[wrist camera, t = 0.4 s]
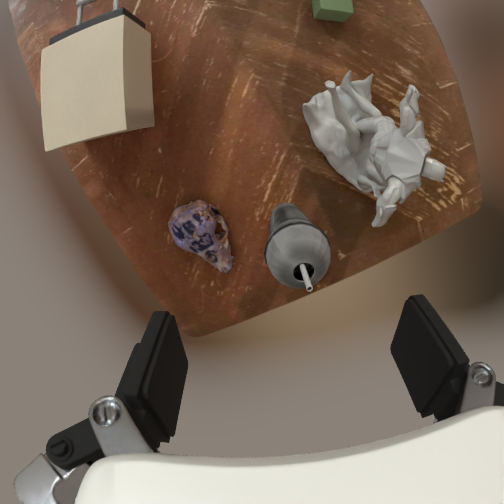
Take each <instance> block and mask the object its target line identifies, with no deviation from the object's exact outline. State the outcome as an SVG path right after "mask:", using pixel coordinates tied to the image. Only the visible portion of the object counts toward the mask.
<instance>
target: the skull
mask: <svg viewBox="0 0 504 504" xmlns="http://www.w3.org/2000/svg"><path fill="white" fill-rule="evenodd" d="M217 222H219V223H220V224H221V227H222V229H224V230H225V233H215V230H216V226H217ZM168 226H169V230H170V233H171V236H172V238H173V240H174V241H175V243H176V245H177V246H178V247H180V248H182V249H184V250H186V251H190V252H193V253H196V254H197V255H199V256H201V257H202V258H203V260H205V261H208V262H209V263H210V264H211V265H213V266H214V267H215V268H217V269H218V270H219V271H220V272H225V273H228V272H229V270H231V269H232V266H233V261H232V260H233V258H234V256H231V246H230V244H229V241H228V228H227V226H226V223H225V222H224V219H223V217H222V216H221V215H219V210H218V209H217V208H216V207H214V206H212V205H211V204H207V203H206V202H204V201H202V200H196V201H194V202H193V201H190V203H189V204H187V205H182V206H180V207H177V208H176V209H175V210H174V211H173V213H172V216H171V218H170V220H169V222H168Z"/></svg>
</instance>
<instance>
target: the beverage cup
mask: <svg viewBox="0 0 504 504" xmlns="http://www.w3.org/2000/svg"><path fill="white" fill-rule="evenodd" d="M264 254H265V261H266V264H267V266H268V268H269V270H270V271H271V273H272V275H273V276H274V277H275V278H276V279H277V280H278V281H279V282H280V283H281V284H284V285H286V286H288V287H291V288H298V289H300V288H306V289H307V291H308V292H311V291H312V290H313V287H312V285H314V284H316V283H317V282H318V281H320V280H321V279H322V278H323V276H324V275H325V274H326V272H327V270H328V267H329V264H330V261H331V252H330V244H329V241H328V238H327V236H326V235H325V234H324V232H323V231H322V230H321V229H320V228H318V227H316V226H315V225H313V224H312V223H311V222H310V221H309V219H308V218H307V217H306V216H305V215H304V214H303V212H302V211H301V210H300V209H299V208H298V207H297V206H295V205H293V204H291V203H282V204H280V205H278V206H277V207H275V208H274V210H273V211H272V214H271V219H270V229H269V239H268V242H267V243H266V248H265V252H264Z"/></svg>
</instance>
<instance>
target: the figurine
mask: <svg viewBox="0 0 504 504" xmlns="http://www.w3.org/2000/svg"><path fill="white" fill-rule="evenodd" d="M351 74H352V71H351V70H350V71H348V72H347V73H346V75H345V76H344V79H343V81H342V83H341V85H340V86H338V87H336V84H335V83H334V82H333V81H330V80H329V81H326V82H325V86H326V88H327V89H328V90H326V91H324V92H322V93H318V94H316V95H315V96H313V97H312V99H311V100H310V101H309V103H305V104H303V106H302V108H303V114H304V118H305V120H306V122H307V124H308V127H309V128H310V131H311V137H312V140H313V142H314V144H315V146H316V147H317V148H318V149H319V150H320V151H321V152H322V153H323V154H324V155H325V157H326V158H327V161H328V162H329V164H330V165H331V166H332V167H333V168H334V169H335V170H336V171H337V172H338V173H339V174H340V175H342V176H343V177H344V178H345V179H346V180H347V181H348V182H350V183H351V184H353V185H354V186H355V187H356V188H357V189H358V190H360V191H361V192H364V193H369V192H372V191H373V193H374V196H375V197H376V198H378V200H377V202H376V206H377V207H376V210H377V213H376V217H375V219H374V220H373V222H372V226H373V227H381V226H383V225H384V224H385V223H386V222H387V221H388V218H389V217H390V216H391V215H392V214H393V213H394V211H395V210H396V208H397V207H396V206H397V205H396V204H395V203H396V202H397V201H398V200H399V203H403V202H404V201H405V200H406V198H407V197H408V196H409V195H410V193H411V192H412V191H414V190H415V189H416V188H419V187H420V186H421V185H422V180H421V177H420V175H421V176H424V177H426V178H429V179H431V180H435V181H441V182H444V180H442V179H443V178H444V176H445V171H446V170H445V168H448V167H447V166H445V165H444V164H442V163H441V162H439V161H437V160H435V159H432V158H429V157H427V156H428V155H429V154H430V153H431V146H430V145H429V144H428V139H425V135H424V127H423V121H421V120H419V121H418V122H417V121H416V117H417V116H418V115H419V114H420V112H419V106H418V102H417V101H418V98H419V97H420V95H419V92H418V90H417V89H416V88H415V86H413V85H411V84H410V85H409V88H408V90H407V92H406V96H405V98H404V99H402V101H401V102H400V105H399V106H400V107H399V110H400V113H401V116H400V121H401V123H400V128H397V127H396V126H395V122H394V121H393V119H392V118H390V117H387V116H382V114H381V112H380V111H379V110H378V109H377V108H376V107H374V105H373V104H372V103H371V98H372V95H371V93H370V88H371V83H372V78H373V73H372V74H371V75H369V76H368V77H367V78H366V79H364V80H356V81H352V82H351V81H350V76H351ZM380 190H382V192H383V194H381V193H380Z"/></svg>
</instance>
